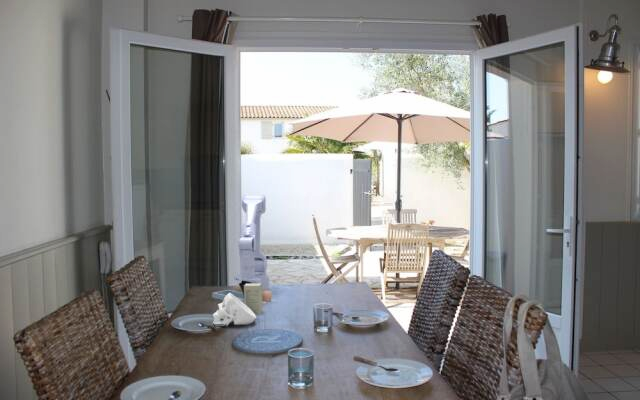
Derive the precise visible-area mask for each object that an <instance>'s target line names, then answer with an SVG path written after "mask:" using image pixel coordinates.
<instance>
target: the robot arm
mask: <svg viewBox="0 0 640 400" xmlns="http://www.w3.org/2000/svg"><path fill="white" fill-rule="evenodd" d="M266 203H267V201H266V196H265V194H262V195H261V194H243V195H242V196H241V209H242V210H243V212H244V213H245V222H244V223H242V229H241V235H240V237H239V238H238V252H239V253H238V255H239V264H240V265H239V273H240V274H235V275H233V280H234V281H238V282H239V283H238V285H239V286H240V287H241V289H242V292H243V295H244V285H245V284H261V283H262V291H264V290H269V291H270V277H269V274H268V273H267V271H268V261H267V255H266V254H265V253H264V252H262V251H261V218H262V215H263V214H265V213H266Z"/></svg>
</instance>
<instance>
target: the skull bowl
mask: <svg viewBox="0 0 640 400" xmlns="http://www.w3.org/2000/svg"><path fill="white" fill-rule="evenodd" d="M217 306H218V309H217V310H216V312H214V313H213V314H212V316H213V321H212V324H213V323H214V324H227V326H226V327H228V325H230V323H232V322H233V324H234V325H243V326H244V325H250V324H252V322H254V321H255V320H256V317H257V316H256V315H257V314H254V313H253V312H252V311H251V309H250V308H248V307H247V306H246V305H245V304H244V303H243V302H242V301H240V300H239V299H238V298H237V297H235V296H234V295H233V294H231V293H228V294H227V295H226V297H225V298H224V300H222V302H221V303H218V304H217ZM223 319H224V320H223ZM220 320H223V321H220Z"/></svg>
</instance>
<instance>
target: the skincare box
mask: <svg viewBox="0 0 640 400" xmlns="http://www.w3.org/2000/svg"><path fill="white" fill-rule="evenodd" d="M244 304H245V305H246V306H247V307H248V308H250V309H251V311H252V312H253V313H254V314H255V315H261V314H262V313H263V312H264V308H263V307H264V306H263V305H264V304H263V303H262V283H261V284H245V285H244ZM256 318H257V316H256ZM256 318H255V319H256Z"/></svg>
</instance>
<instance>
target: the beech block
mask: <svg viewBox="0 0 640 400" xmlns="http://www.w3.org/2000/svg"><path fill="white" fill-rule="evenodd" d="M234 291H236V292H241V293H243V292H242V289H241V287H240V286H239V284H237V285H234Z"/></svg>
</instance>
